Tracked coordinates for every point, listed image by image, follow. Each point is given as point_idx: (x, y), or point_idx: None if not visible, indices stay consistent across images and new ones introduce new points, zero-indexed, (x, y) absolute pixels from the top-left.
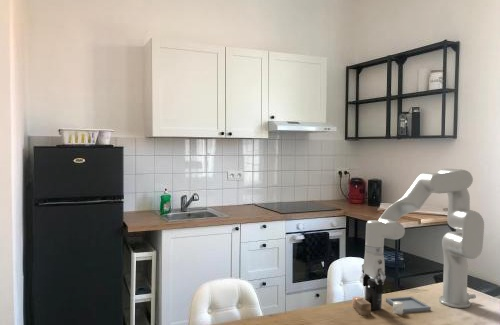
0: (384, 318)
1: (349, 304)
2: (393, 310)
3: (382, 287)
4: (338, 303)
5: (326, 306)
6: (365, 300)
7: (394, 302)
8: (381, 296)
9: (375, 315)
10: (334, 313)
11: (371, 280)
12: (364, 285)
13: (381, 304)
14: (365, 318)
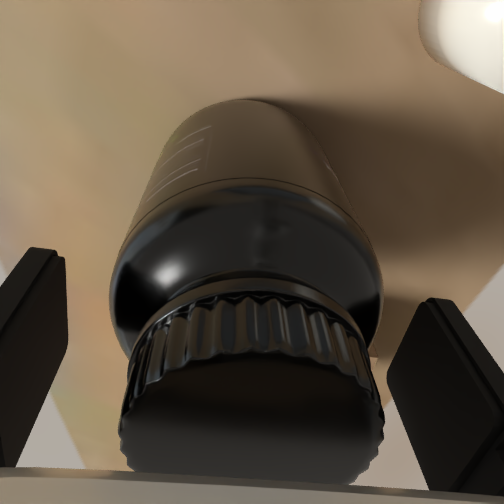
0: (475, 246)
1: (103, 317)
2: (459, 73)
3: (497, 368)
4: (64, 372)
5: (106, 450)
6: None
7: (494, 56)
8: (346, 196)
9: (390, 271)
10: None
11: None
12: (65, 346)
13: (313, 139)
14: (388, 359)
